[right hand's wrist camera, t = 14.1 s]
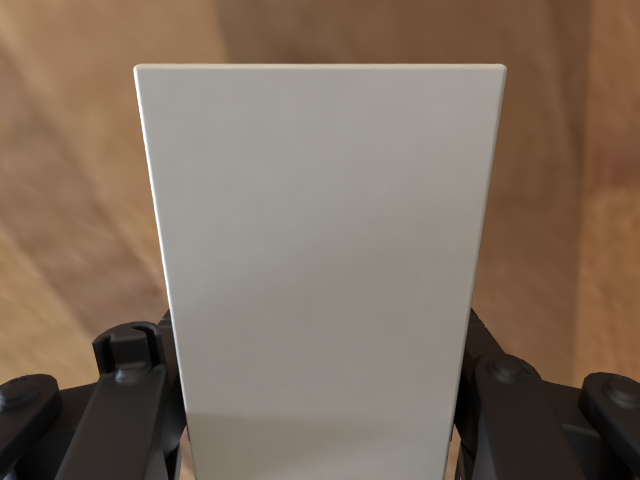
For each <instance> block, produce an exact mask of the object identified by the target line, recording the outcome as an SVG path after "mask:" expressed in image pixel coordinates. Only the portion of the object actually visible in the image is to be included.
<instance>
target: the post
mask: <svg viewBox="0 0 640 480" xmlns="http://www.w3.org/2000/svg"><path fill="white" fill-rule="evenodd" d="M506 75H507V68H506V66H504V65H502V64H138V65H136V66H135V67H134V77H135V84H136V90H137V97H138V103H139V110H140V117H141V123H142V130H143V136H144V143H145V149H146V156H147V162H148V169H149V176H150V182H151V189H152V195H153V202H154V208H155V215H156V221H157V228H158V235H159V241H160V248H161V254H162V261H163V267H164V274H165V280H166V287H167V294H168V300H169V307H170V313H171V320H172V326H173V333H174V340H175V346H176V353H177V359H178V366H179V372H180V379H181V385H182V392H183V399H184V405H185V412H186V418H187V425H188V431H189V438H190V444H191V451H192V458H193V464H194V471H195V477H196V480H444V478H445V472H446V465H447V459H448V452H449V446H450V439H451V433H452V426H453V420H454V413H455V407H456V400H457V394H458V387H459V381H460V374H461V368H462V361H463V355H464V348H465V342H466V335H467V329H468V322H469V316H470V309H471V303H472V296H473V290H474V283H475V277H476V270H477V264H478V257H479V251H480V244H481V238H482V231H483V225H484V218H485V212H486V205H487V199H488V192H489V186H490V179H491V173H492V166H493V160H494V153H495V147H496V140H497V134H498V127H499V121H500V114H501V108H502V101H503V95H504V88H505V82H506Z"/></svg>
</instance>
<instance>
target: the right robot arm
mask: <svg viewBox="0 0 640 480" xmlns="http://www.w3.org/2000/svg"><path fill="white" fill-rule="evenodd" d="M92 345H93V349H94V353H95V357H96V361H97V366H98V370H99V374H100V378H99V380H98V382H96V383H92V384H88V385H84V386H79V387H74V388H69V389H65V390H59V387H58V384H57V380H56V379H55V378H53V377H52V376H51V375H46V374H34V375H26V376H22V377H20V378H15V379H12V380H10V381H8V382H6V383H4V384H2V385H0V480H179V476H180V467H181V458H182V456H181V449H180V443H179V440H180V438H181V435H182V433H183V431H184V428H185V426H186V425H187V418H186V412H185V405H184V399H183V392H182V385H181V379H180V372H179V366H178V359H177V353H176V346H175V340H174V333H173V326H172V320H171V313H170V308H169V310H168V311H167V312H166V314H165V315H164V316H163V318H162V320H161V321H160V322H159V323H158V325H156V324H154V323H150V322H146V321H143V322H130V323H125V324H121V325H118V326H116V327H113V328H111V329H108V330H107V331H105V332H104V333H102V334H100V335H99V336H98V337H97V338H96V339H95V340H94V341H93V343H92ZM454 423H455V426H456V428H457V430H458V433H459V435H460V438H461V443H460V449H459V455H458V461H457V467H456V473H455V480H460V476H461V480H640V383H638V382H636V381H634V380H632V379H630V378H628V377H625V376H621V375H618V374H613V373H604V372H598V373H591V374H589V375H588V376H587V377H585V378H584V381H583V385H582V388H581V389H579V388H574V387H569V386H565V385H560V384H555V383H551V382H547V381H543V380H542V379H541V377H540V375H539V374H538V372H537V371H536V370H535V368H534V367H532V366H531V365H530V364H528V363H527V362H526V361H524V360H522V359H520V358H517V357H515V356H513V355H509V354H505V353H504V351H503V350H502V349H501V347H500V346H499V344H498V343H497V342H496V340H495V339H494V338H493V336H492V335H491V334H490V332H489V331H488V329H487V328H485V325H484V324H483V323H482V321H481V320H480V319H478V316H477V314H476V313H475V312H474V310H473V309H472V308H471V309H470V316H469V322H468V329H467V335H466V342H465V348H464V355H463V361H462V368H461V374H460V381H459V387H458V394H457V400H456V407H455V413H454V420H453V426H452V433H453V427H454ZM187 431H188V425H187ZM452 433H451V439H450V441H451V440H452ZM188 438H189V431H188ZM189 441H190V438H189Z"/></svg>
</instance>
